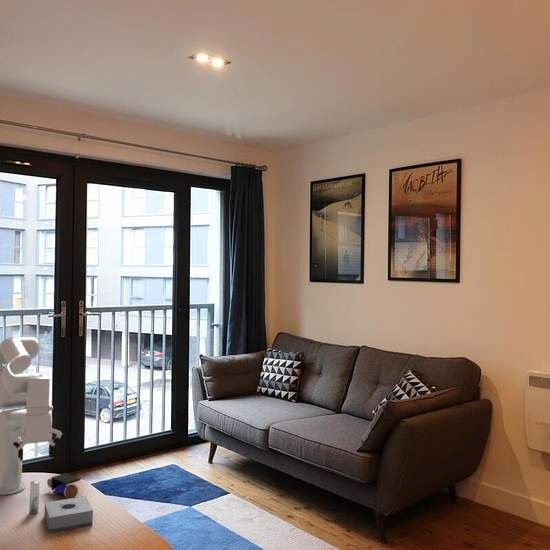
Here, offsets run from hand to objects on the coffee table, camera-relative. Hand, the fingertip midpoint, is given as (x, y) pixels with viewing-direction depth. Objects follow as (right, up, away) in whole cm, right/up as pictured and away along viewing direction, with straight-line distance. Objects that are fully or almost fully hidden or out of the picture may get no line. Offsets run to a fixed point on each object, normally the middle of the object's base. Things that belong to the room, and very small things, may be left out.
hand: (35, 458), depth 198 cm
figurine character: (+3, -21, +18) cm, 27 cm away
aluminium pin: (-1, -20, 0) cm, 20 cm away
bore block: (+14, -20, -6) cm, 25 cm away
